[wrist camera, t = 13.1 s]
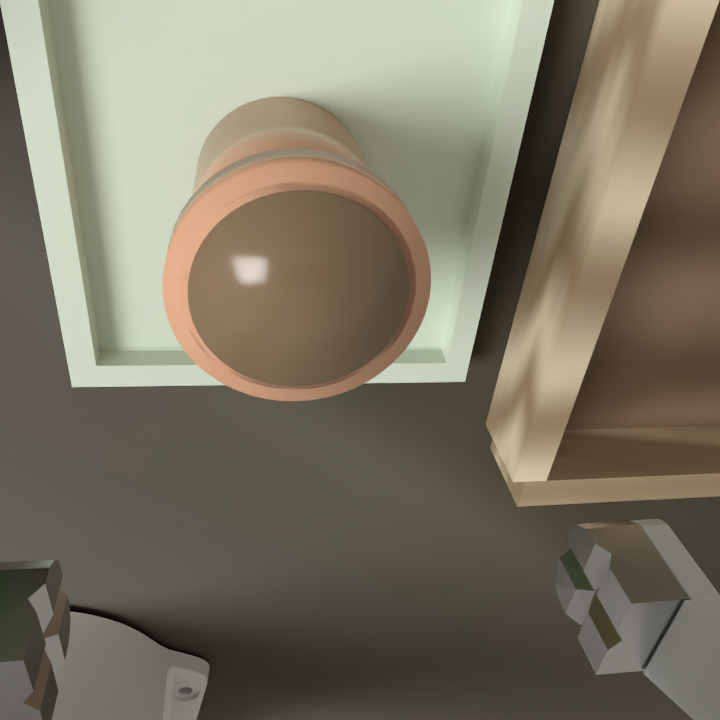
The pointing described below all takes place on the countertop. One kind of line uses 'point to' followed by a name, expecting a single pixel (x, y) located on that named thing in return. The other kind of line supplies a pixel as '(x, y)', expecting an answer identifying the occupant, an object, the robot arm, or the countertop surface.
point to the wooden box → (624, 276)
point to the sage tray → (233, 89)
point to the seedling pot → (292, 258)
